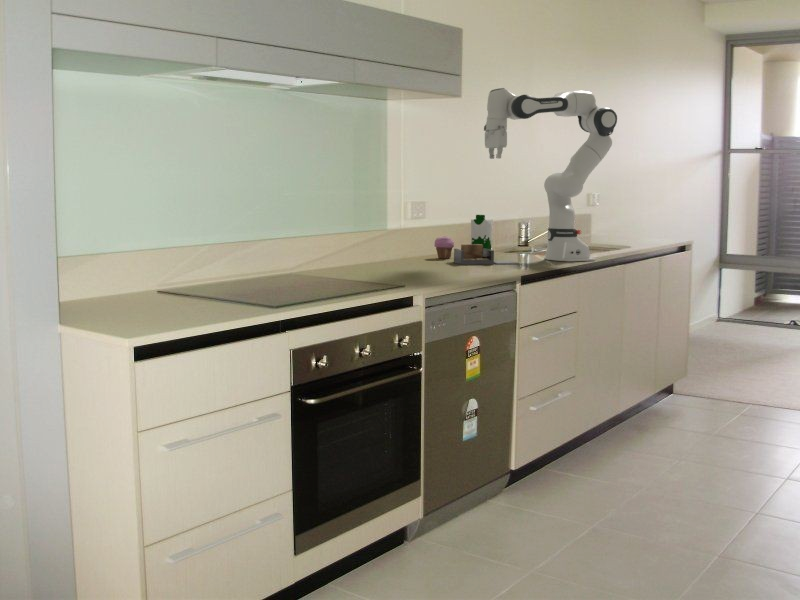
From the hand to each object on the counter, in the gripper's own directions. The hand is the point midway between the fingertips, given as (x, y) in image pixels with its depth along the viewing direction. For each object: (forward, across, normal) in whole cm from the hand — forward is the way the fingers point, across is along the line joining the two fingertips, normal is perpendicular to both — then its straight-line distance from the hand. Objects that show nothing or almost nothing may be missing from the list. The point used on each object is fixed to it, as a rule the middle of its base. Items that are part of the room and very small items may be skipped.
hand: (495, 158), depth 384 cm
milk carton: (+45, +7, +2) cm, 46 cm away
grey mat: (+45, -11, -3) cm, 46 cm away
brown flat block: (+45, -8, +11) cm, 47 cm away
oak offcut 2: (+45, -13, +8) cm, 48 cm away
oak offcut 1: (+45, -13, +14) cm, 49 cm away
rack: (+45, -11, +11) cm, 47 cm away
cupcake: (+45, +12, +18) cm, 50 cm away
